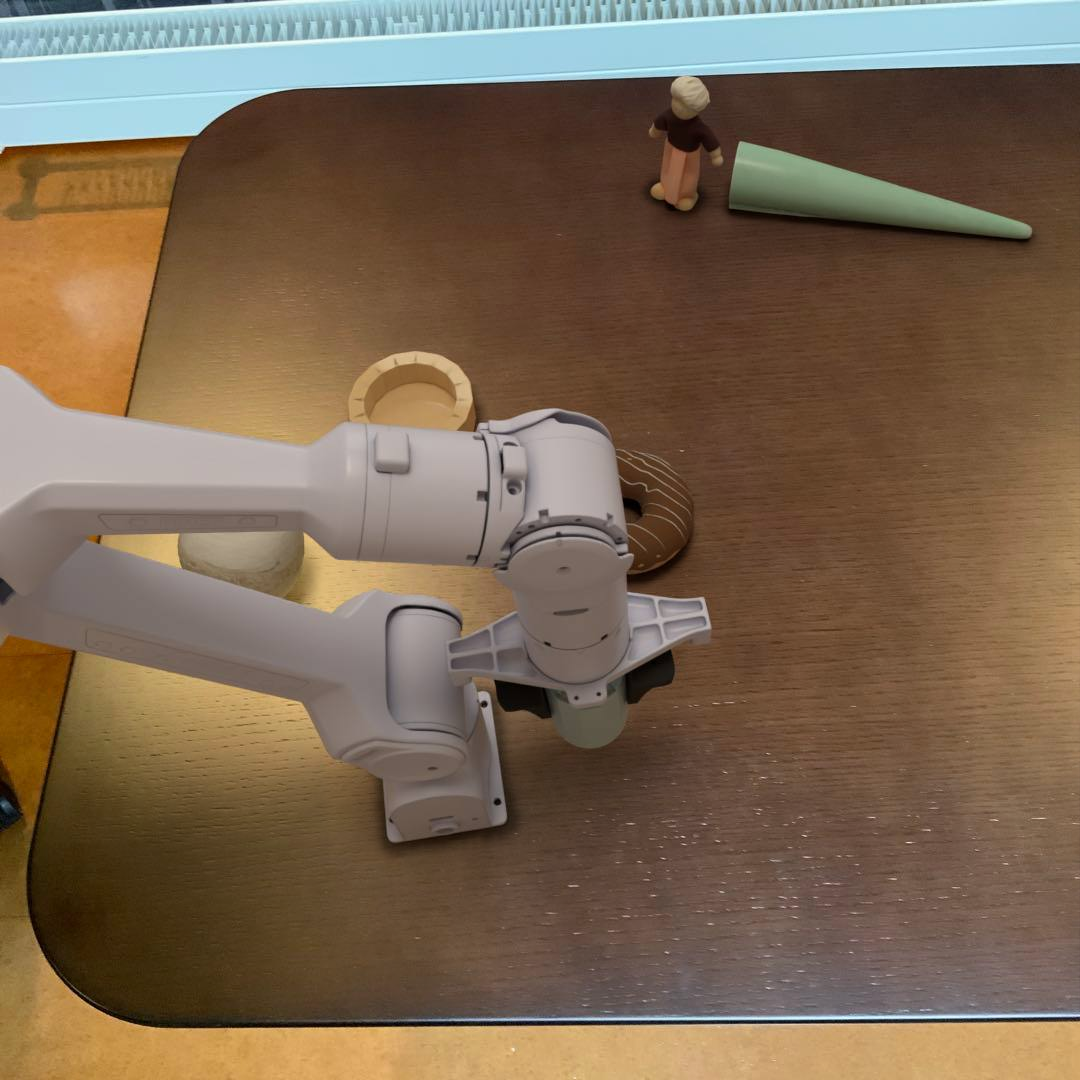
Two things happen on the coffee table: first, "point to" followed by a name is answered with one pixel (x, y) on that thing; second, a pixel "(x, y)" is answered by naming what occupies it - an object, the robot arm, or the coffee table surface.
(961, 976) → the coffee table surface
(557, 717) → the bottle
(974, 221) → the mint green cone
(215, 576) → the decorative object
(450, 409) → the holder
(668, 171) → the grandmother figurine
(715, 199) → the coffee table surface
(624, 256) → the coffee table surface
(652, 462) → the donut
